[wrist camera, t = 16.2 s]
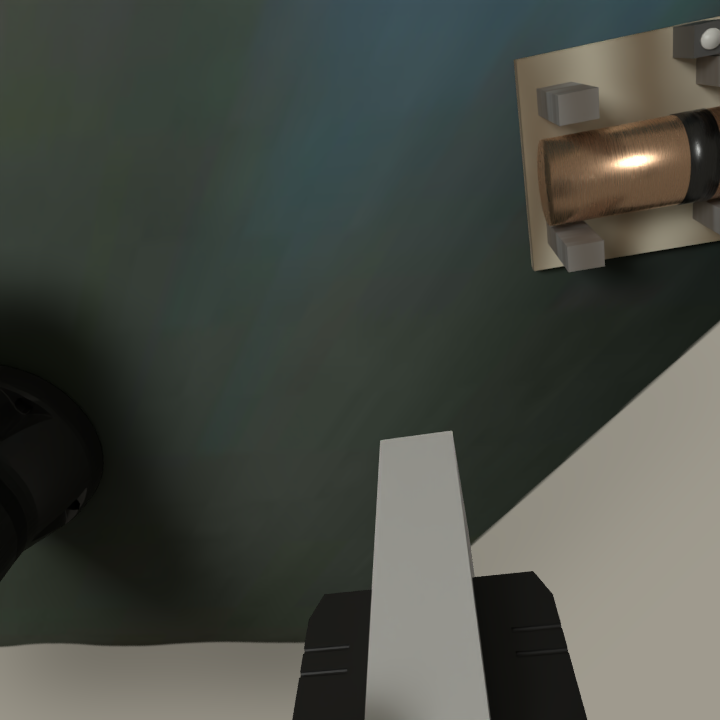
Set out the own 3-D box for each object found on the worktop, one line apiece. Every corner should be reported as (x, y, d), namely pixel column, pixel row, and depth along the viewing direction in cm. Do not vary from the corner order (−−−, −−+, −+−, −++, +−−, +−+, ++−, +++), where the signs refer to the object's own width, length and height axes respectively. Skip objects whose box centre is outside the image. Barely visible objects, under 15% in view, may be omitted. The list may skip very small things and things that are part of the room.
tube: (812, 91, 37) (870, 72, 32) (814, 180, 38) (871, 175, 33) (533, 143, 40) (548, 133, 35) (543, 226, 41) (558, 227, 36)
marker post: (672, 57, 37) (695, 58, 34) (673, 26, 36) (696, 25, 33) (702, 51, 36) (727, 52, 33) (703, 20, 36) (728, 18, 33)
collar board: (531, 266, 44) (552, 303, 37) (513, 59, 38) (534, 62, 32) (734, 232, 42) (792, 265, 35) (745, 10, 36) (817, 2, 30)
